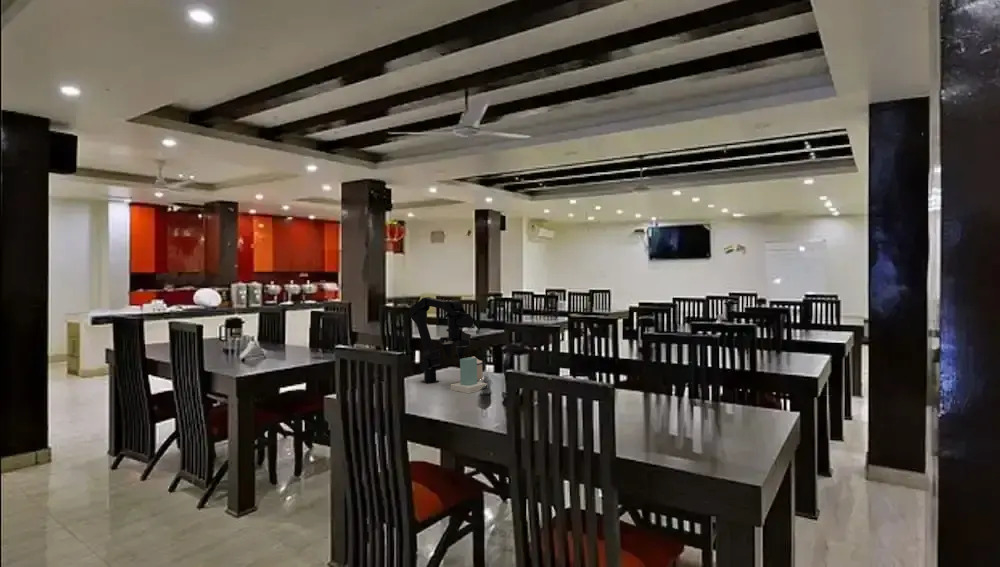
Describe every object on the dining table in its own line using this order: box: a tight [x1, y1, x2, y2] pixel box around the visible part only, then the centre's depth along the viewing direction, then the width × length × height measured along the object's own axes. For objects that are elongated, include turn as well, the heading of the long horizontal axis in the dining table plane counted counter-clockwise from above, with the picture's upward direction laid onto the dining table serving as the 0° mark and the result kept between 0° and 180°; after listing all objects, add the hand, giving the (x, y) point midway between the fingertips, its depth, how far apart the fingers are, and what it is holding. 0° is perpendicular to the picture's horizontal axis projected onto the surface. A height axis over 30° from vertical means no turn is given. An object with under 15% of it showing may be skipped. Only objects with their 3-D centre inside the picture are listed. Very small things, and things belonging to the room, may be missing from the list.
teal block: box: [459, 356, 478, 386], centre depth 278 cm, size 5×6×12 cm
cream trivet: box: [450, 381, 488, 394], centre depth 278 cm, size 12×12×2 cm
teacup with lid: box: [471, 356, 484, 382], centre depth 301 cm, size 12×9×12 cm
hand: (454, 359), depth 285 cm, fingers open, 9 cm apart
